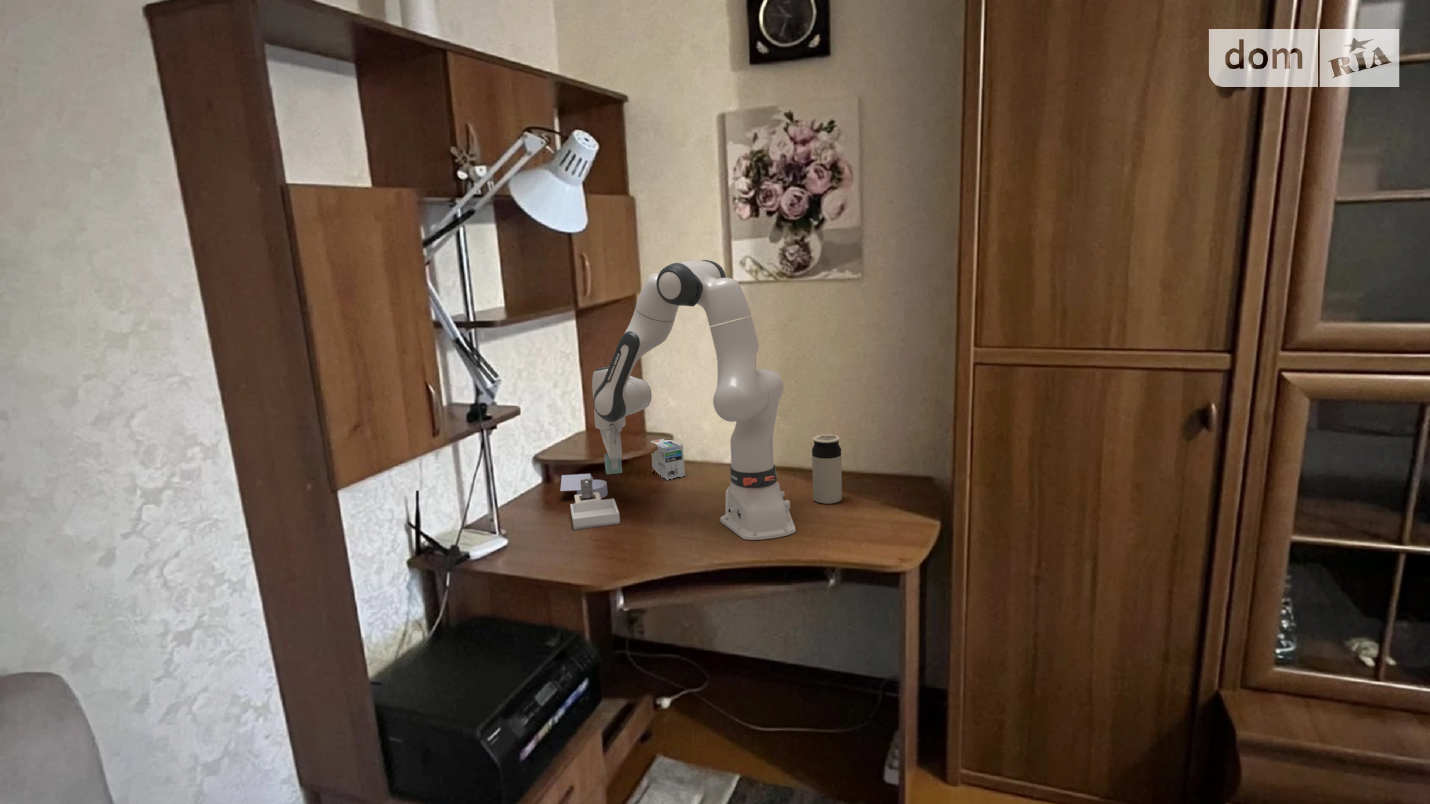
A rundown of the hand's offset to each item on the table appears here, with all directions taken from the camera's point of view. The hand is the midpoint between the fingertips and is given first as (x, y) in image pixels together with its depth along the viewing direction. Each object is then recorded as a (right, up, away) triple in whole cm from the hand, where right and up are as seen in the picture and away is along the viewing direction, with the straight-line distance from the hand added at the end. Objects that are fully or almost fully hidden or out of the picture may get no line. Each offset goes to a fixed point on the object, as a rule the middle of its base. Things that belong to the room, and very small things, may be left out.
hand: (613, 465), depth 230 cm
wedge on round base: (-9, -9, +2) cm, 13 cm away
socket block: (-6, -11, -9) cm, 15 cm away
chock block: (0, -2, 0) cm, 2 cm away
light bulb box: (+15, -5, +17) cm, 23 cm away
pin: (-6, -11, -9) cm, 15 cm away
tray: (-3, -13, -18) cm, 22 cm away
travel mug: (+62, -9, -12) cm, 63 cm away
